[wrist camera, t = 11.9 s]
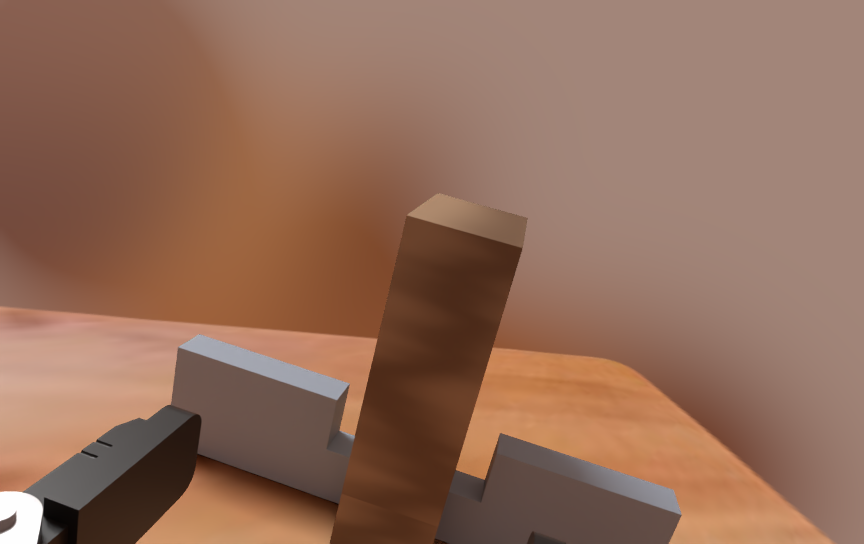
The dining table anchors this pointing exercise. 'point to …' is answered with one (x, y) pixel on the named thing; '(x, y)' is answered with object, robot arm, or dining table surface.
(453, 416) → the walnut block
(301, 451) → the slate rail
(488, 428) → the dining table surface
